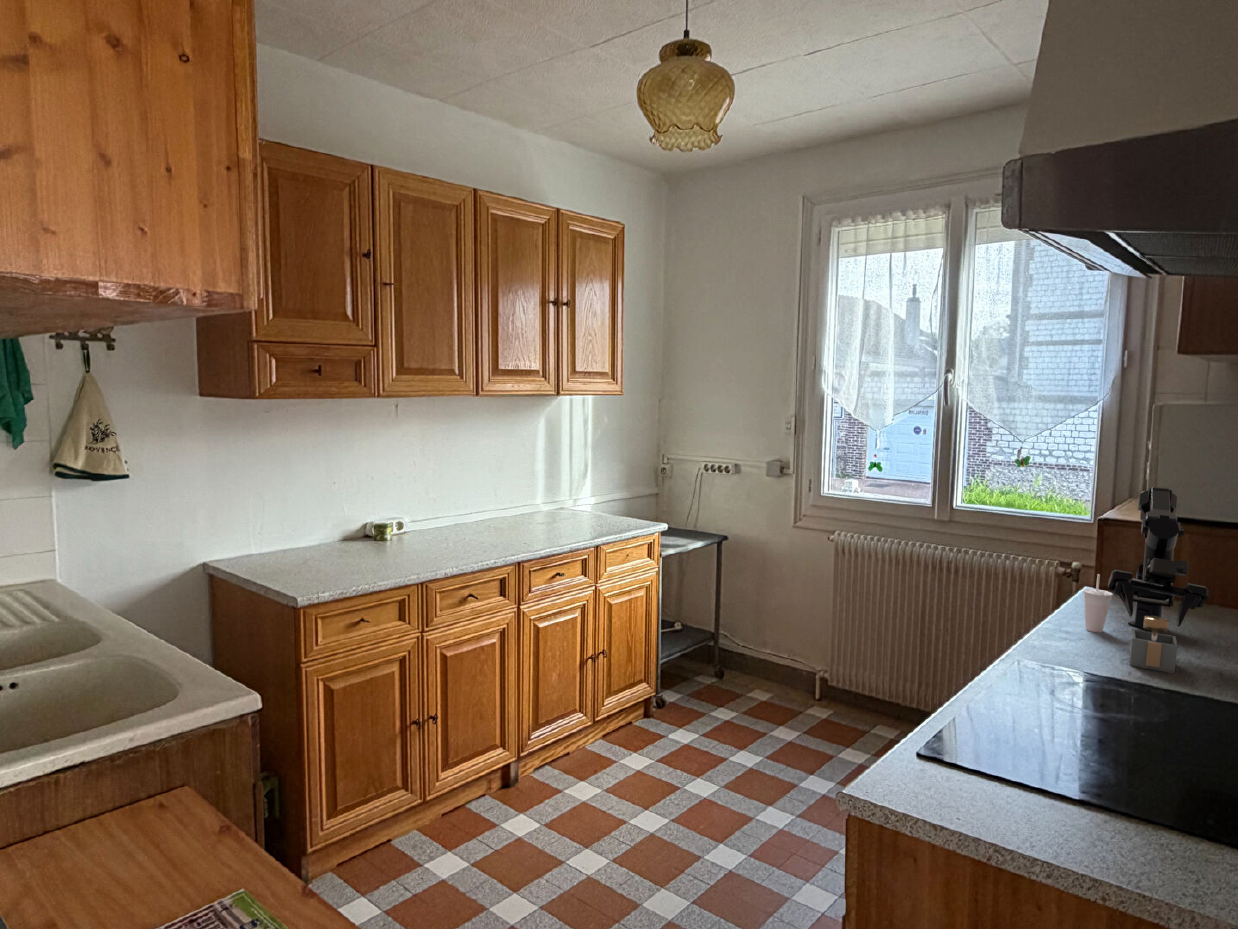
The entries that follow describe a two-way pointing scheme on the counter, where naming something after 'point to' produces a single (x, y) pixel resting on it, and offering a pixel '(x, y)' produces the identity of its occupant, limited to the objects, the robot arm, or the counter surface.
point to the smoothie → (1096, 607)
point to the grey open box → (1153, 651)
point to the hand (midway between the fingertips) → (1154, 620)
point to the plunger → (1155, 625)
